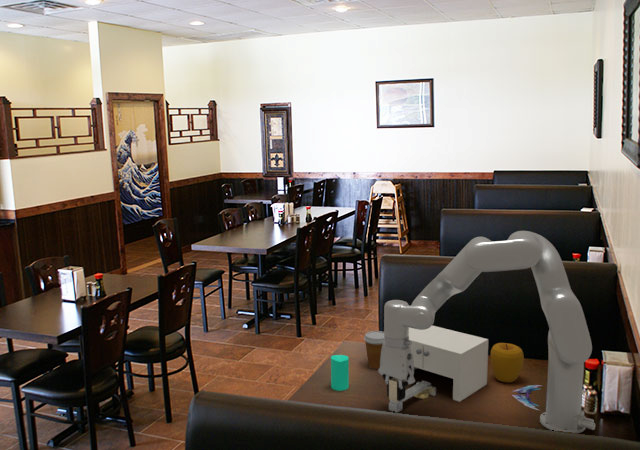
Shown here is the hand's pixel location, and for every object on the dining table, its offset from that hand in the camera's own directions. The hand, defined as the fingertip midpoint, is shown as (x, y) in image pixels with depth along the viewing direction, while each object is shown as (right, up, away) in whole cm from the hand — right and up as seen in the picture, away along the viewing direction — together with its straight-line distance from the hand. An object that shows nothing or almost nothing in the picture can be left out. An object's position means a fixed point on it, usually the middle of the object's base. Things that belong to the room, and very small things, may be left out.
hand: (396, 396), depth 186 cm
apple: (+41, 0, +22) cm, 47 cm away
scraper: (+5, -3, +6) cm, 9 cm away
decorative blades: (+44, -3, +10) cm, 45 cm away
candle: (-17, -2, +18) cm, 25 cm away
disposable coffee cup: (-3, +1, +36) cm, 36 cm away
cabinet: (+17, -1, +21) cm, 27 cm away
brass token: (+9, -3, +11) cm, 15 cm away
